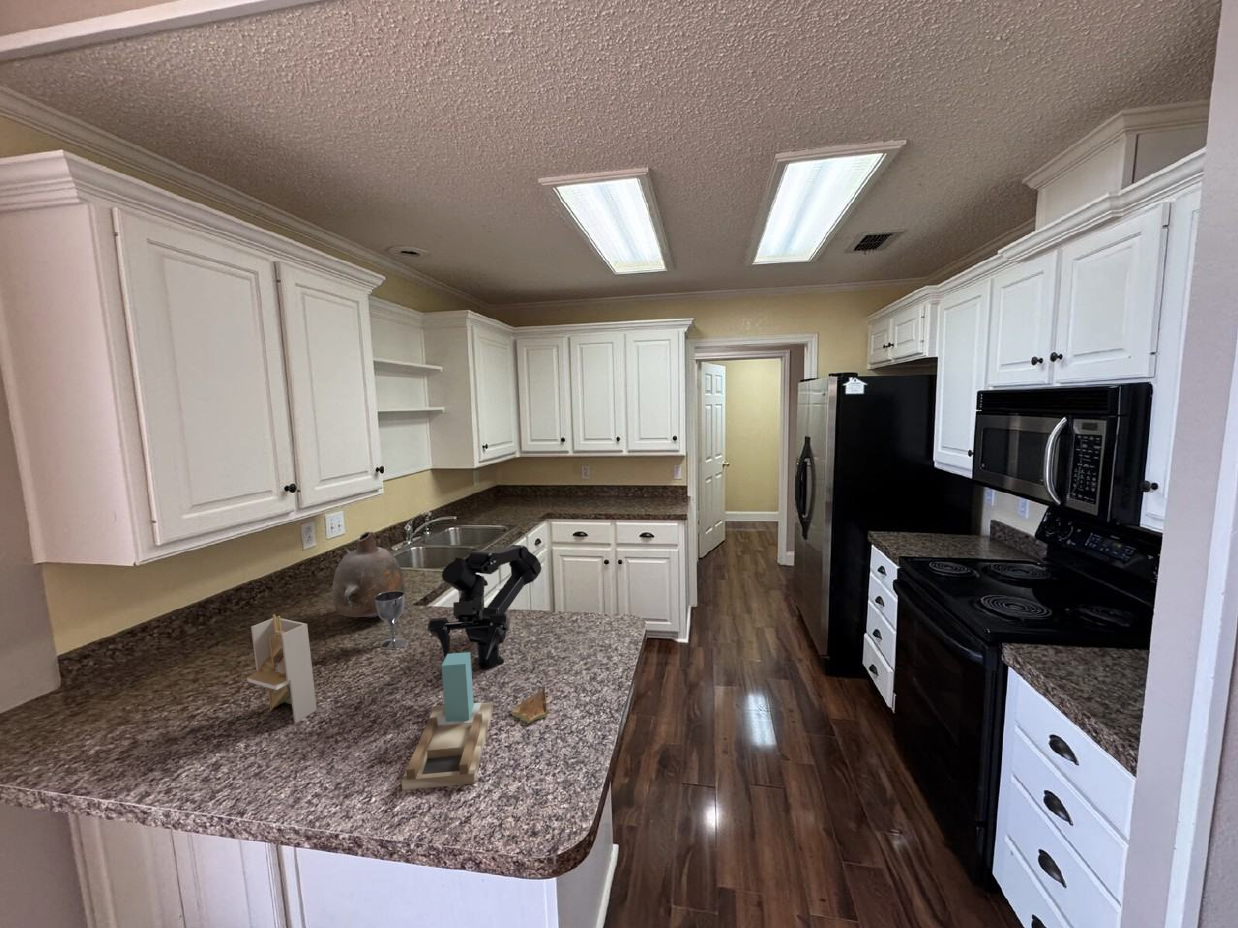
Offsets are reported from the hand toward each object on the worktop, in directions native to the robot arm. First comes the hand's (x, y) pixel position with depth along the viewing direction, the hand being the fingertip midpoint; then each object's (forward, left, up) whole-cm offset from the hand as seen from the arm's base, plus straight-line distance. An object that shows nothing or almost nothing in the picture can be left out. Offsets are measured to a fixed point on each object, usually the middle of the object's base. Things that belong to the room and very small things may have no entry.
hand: (466, 660), depth 116 cm
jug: (-66, -11, -10) cm, 68 cm away
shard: (+12, +10, -11) cm, 19 cm away
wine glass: (-42, -9, -10) cm, 44 cm away
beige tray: (+13, -8, -10) cm, 19 cm away
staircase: (-22, -35, -11) cm, 43 cm away
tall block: (+7, -4, -8) cm, 11 cm away
